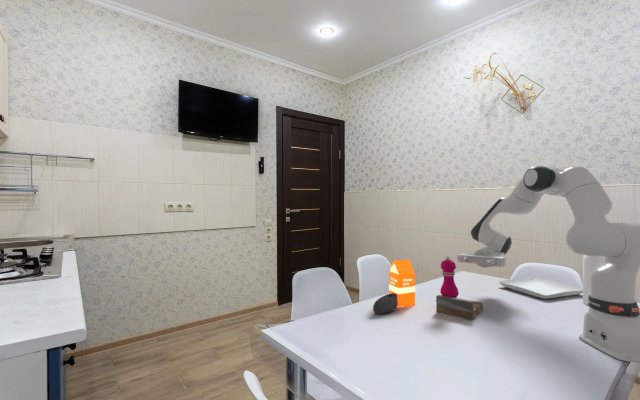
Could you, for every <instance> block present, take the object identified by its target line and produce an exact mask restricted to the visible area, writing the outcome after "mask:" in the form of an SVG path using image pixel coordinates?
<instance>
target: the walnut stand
mask: <svg viewBox="0 0 640 400" xmlns="http://www.w3.org/2000/svg"><path fill="white" fill-rule="evenodd" d="M435 298H436V307H435V308H436V312H435V313H437V312H438V313H437V314H441V313H442V314H441V315H445V314H446V316H450V315H451V316H450V317H455V316H456V317H455V318H459V317H460V318H461V319H465V320H469V321H473V320H474V319H475V318H476V317H477V316H478V315H479V314H480V313H482V311H483V310H484V309H483V308H484V307H483V306H484V305H483V302H480V301H475V300H469V299H464V298H460V297H459V298H458V297H456V298H453V297H447V296H442V295H441V294H437V295H436V297H435Z"/></svg>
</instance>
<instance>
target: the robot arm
mask: <svg viewBox="0 0 640 400" xmlns="http://www.w3.org/2000/svg"><path fill="white" fill-rule="evenodd" d="M543 195H549V196H561V197H564V198H565V199H566V201H567V203H568V205H569V207H570V210H571V211H572V213H573V218H574V222H573V225H572V226H571V227H570V228H569V229H568V231H567V232H566V237H565V240H566V244H567V246H568V248H569V249H570V250H571V251H572V252H573V253H574V254H576V255H582V256H584V255H586V256H603V257H604V261H603V262H602V264H601V265H600V266H599V267H597V268H595V269H593V270H592V271H591V273H590V295H589V297H588V305H587V306H588V307H589V308H588V310H587V311H586V312H585V313H584V317H583V330H582V334H579V335H578V339H579V340H581V341H582V342H584V343H586V344H588V345H589V346H591V347H593V348H595V349H597V350H599V351H601V352H603V353H605V354H607V355H609V356H610V357H611V358H612V357H613V358H614V359H616V360H620V361H624V362H630V363H635V364H640V307H639V305H638V302H637V301H636V281H637V276H638V272H639V270H640V223H633V222H609V220H607V218H606V216H607V215H609V213H610V212H611V211H612V208H613V202H612V200H611V198H610V197H609V196H608V193H607V192H606V191H605V189H604V188H603V186H602V184H601V183H600V181H598V179H597V178H596V177H595V176H594V175H593V174H592V172H590V171H589V170H588V168H587V167H586V168H585V167H584V166H581V165H578V166H576V165H575V166H571V167H569V168H566V169H564V168H558V167H553V166H552V167H551V166H543V165H537V166H530V167H529V168H527V170H526V171H525V172H524V175H523V176H522V178H520V179H519V182H518V183H517V184H516V185H515V187H514V188H513V190H512V191H511V193H510V194H509V195H507V196H506V197H501V198H499V199H498V200H496V201H495V202H494V204H493V205H492V206H491V207H490V208H489V209H488V210H487V212H486V213H485V214H484V215H483V216H482V217H481V219H480V220H479V221H478V222H477V223H475V225H474V226H473V227H472V229H471V231H470V235H471V237H472V239H473V240H474V241H477V242H478V243H480V244H483V245H484V246H485V247H481V248H480V249H478V250H476V251H475V252H474V253H468V252H467V253H466V252H465V253H464V252H463V253H458V254H456V255H457V256H456V260H457V262H458V263H465V264H476V265H477V266H478V267H480V268H484V269H485V268H493V267H499V268H501V267H502V268H503V267H507V266H506V264H507V263H506V262H507V260H506V259H507V258H506V254H507V253H508V252H509V250H510V249H511V247H512V244H513V243H512V241H513V240H512V238H511V236H510V235H508V234H506V233H504V232H502V231H500V230H499V229H497V228H496V227H493V226H492V225H491V224H490V223H491V222H492V221H493V220H494V219H495V218H496V216H497V215H498V214H500V213H501V214H502V213H504V214H505V213H506V214H512V215H518V216H519V215H520V216H521V215H527V214H529V213H531V212H533V210H535V208H536V206H537V205H538V203H539V202H540V201H541V199H542V197H543Z"/></svg>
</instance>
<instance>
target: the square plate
mask: <svg viewBox="0 0 640 400" xmlns="http://www.w3.org/2000/svg"><path fill="white" fill-rule="evenodd" d="M498 283H499V285H501V286H503V288H507V289H510V290H513V291H515V292H519V293H522V294H525V295H529V296H533V297H535V298H536V297H537V298H540V299H543V300H544V299H545V300H547V299H554V298H556V299H557V298H562V297H563V296H564V297H570V296H576V295H580V294H583V288H579V287H576V286H572V285H569V284H566V283H565V284H564V283H563V282H559V281H558V282H557V281H552V280H548V279H543V278H538V277H523V278H514V279H513V278H511V279H506V280H505V279H504V280H500V281H498Z"/></svg>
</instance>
